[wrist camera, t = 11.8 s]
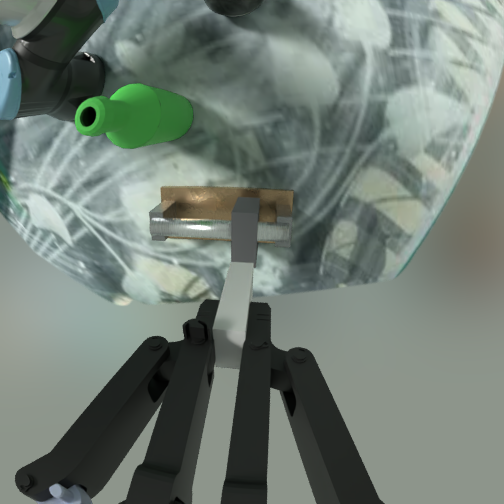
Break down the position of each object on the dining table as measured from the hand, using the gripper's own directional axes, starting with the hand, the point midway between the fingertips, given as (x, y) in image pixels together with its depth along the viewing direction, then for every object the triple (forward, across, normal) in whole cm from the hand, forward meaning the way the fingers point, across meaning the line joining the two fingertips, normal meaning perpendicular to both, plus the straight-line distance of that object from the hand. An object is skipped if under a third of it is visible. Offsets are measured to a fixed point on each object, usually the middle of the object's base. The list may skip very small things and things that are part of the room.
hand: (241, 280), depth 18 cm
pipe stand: (+32, -6, -6) cm, 33 cm away
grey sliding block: (+29, -2, -6) cm, 29 cm away
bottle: (+33, -16, +12) cm, 38 cm away
